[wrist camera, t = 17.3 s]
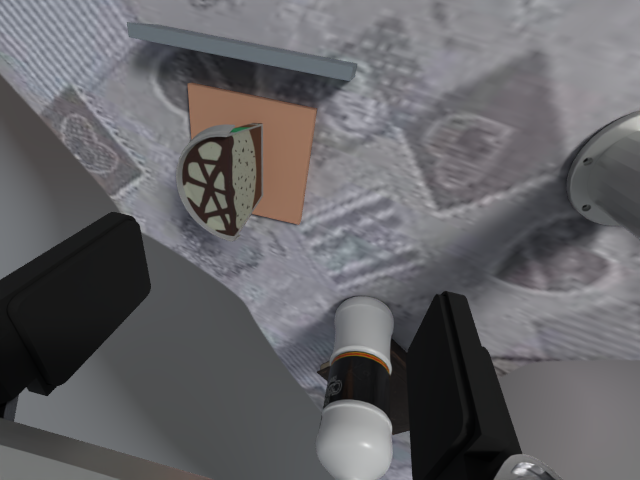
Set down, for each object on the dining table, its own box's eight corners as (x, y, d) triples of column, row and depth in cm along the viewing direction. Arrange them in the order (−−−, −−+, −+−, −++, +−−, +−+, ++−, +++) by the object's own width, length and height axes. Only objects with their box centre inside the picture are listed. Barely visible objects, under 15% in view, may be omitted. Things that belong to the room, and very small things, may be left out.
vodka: (391, 337, 53) (394, 603, 28) (336, 331, 54) (293, 577, 29) (396, 296, 48) (406, 572, 23) (335, 290, 49) (283, 543, 24)
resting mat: (317, 108, 36) (315, 110, 35) (300, 221, 44) (299, 224, 43) (192, 82, 37) (187, 83, 36) (199, 197, 45) (195, 200, 44)
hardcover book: (392, 423, 67) (393, 435, 65) (319, 362, 61) (316, 372, 59) (462, 403, 59) (465, 415, 57) (386, 330, 53) (386, 341, 51)
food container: (212, 102, 37) (160, 120, 28) (263, 109, 36) (225, 129, 28) (220, 198, 43) (180, 236, 35) (263, 206, 43) (233, 245, 34)
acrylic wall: (357, 63, 33) (352, 66, 29) (354, 76, 33) (350, 81, 29) (158, 24, 34) (126, 22, 30) (159, 37, 35) (129, 37, 31)
